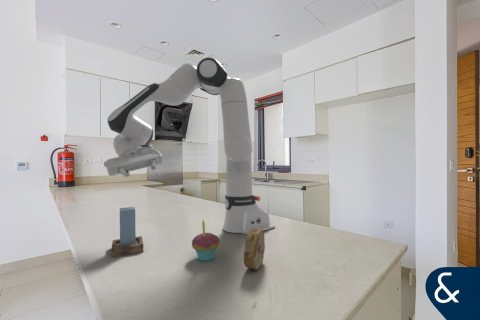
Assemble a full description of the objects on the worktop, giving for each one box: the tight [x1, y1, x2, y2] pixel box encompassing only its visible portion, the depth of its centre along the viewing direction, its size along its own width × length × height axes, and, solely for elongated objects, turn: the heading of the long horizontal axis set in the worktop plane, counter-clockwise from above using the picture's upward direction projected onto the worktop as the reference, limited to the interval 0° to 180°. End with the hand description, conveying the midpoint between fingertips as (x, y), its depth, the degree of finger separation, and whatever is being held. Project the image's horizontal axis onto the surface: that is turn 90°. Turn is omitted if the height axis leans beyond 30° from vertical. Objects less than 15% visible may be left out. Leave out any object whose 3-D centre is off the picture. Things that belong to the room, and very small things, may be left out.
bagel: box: [243, 229, 266, 271], centre depth 64 cm, size 10×4×10 cm, turn 157°
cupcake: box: [191, 220, 221, 262], centre depth 70 cm, size 9×8×12 cm
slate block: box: [119, 206, 137, 247], centre depth 77 cm, size 4×4×12 cm
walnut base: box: [110, 235, 144, 258], centre depth 77 cm, size 9×9×2 cm
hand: (141, 171), depth 86 cm, fingers open, 8 cm apart
